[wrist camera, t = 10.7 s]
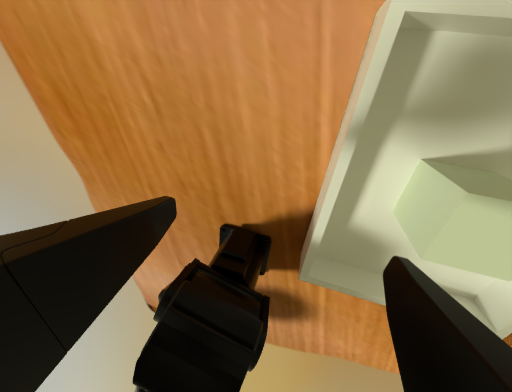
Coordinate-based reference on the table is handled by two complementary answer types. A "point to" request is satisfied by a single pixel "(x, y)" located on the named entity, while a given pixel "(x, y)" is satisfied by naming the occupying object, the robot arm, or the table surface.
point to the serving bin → (415, 145)
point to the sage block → (459, 217)
